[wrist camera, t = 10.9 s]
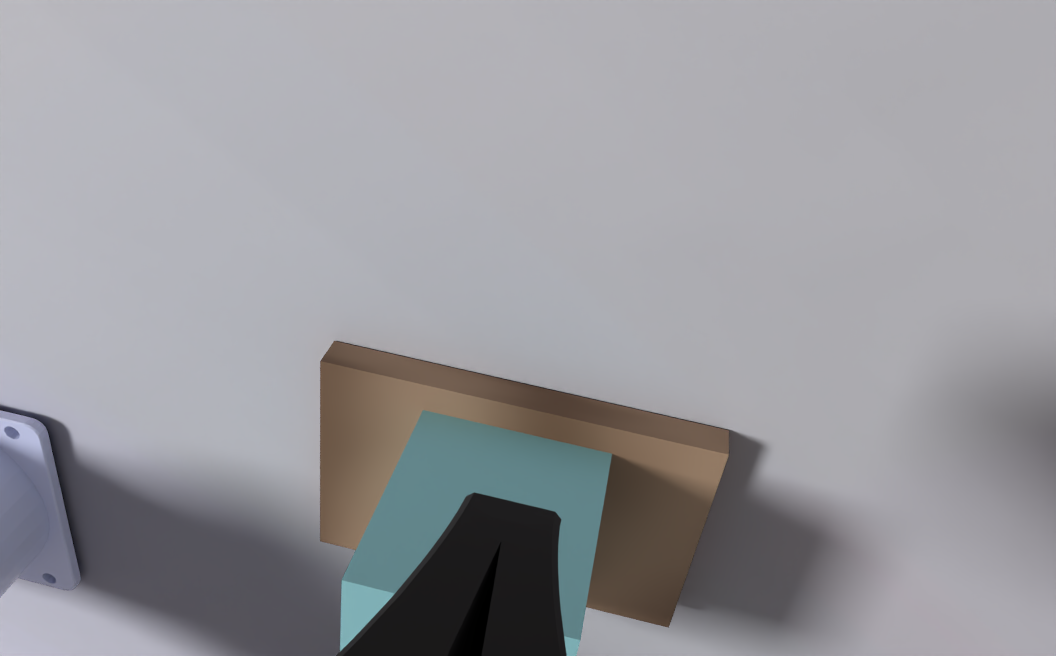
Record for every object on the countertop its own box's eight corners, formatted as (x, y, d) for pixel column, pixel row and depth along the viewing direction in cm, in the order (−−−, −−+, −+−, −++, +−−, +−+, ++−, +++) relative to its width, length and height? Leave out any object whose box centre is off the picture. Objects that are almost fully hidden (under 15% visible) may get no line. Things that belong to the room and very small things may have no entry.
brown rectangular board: (332, 518, 28) (262, 650, 24) (334, 341, 24) (251, 461, 20) (670, 601, 27) (659, 754, 23) (728, 430, 23) (728, 576, 19)
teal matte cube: (411, 542, 27) (338, 720, 22) (423, 409, 24) (341, 580, 19) (579, 583, 26) (544, 775, 21) (612, 453, 23) (579, 640, 18)
